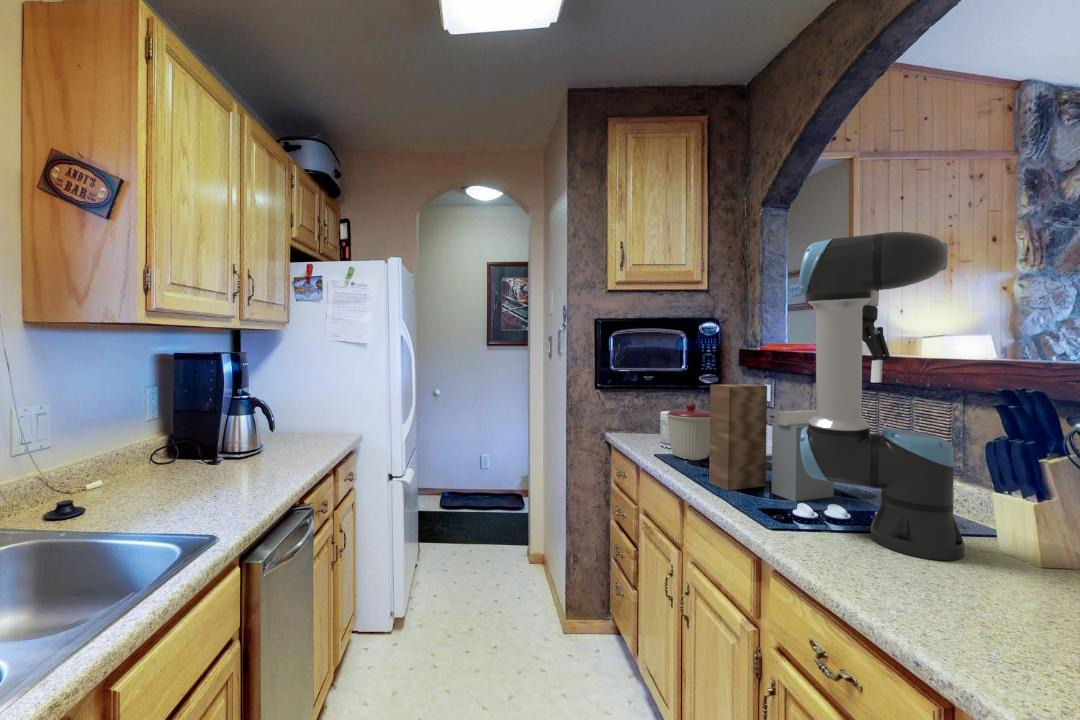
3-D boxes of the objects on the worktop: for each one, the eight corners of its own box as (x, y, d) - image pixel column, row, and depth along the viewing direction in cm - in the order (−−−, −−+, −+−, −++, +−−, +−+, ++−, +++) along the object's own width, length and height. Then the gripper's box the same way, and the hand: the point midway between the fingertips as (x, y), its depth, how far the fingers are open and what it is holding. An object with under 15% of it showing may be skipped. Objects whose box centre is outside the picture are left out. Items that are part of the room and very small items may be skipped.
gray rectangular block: (808, 488, 137) (809, 420, 137) (833, 496, 130) (834, 424, 129) (771, 493, 132) (772, 422, 132) (795, 501, 125) (796, 427, 125)
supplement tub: (668, 443, 204) (669, 410, 204) (688, 447, 197) (688, 412, 197) (655, 446, 198) (655, 411, 198) (674, 450, 191) (674, 414, 190)
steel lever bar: (842, 420, 138) (842, 408, 138) (853, 422, 135) (853, 409, 135) (776, 424, 130) (776, 411, 130) (787, 425, 127) (787, 413, 126)
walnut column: (745, 479, 147) (746, 384, 146) (765, 486, 139) (767, 385, 139) (709, 483, 142) (710, 384, 142) (727, 490, 135) (729, 386, 134)
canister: (686, 465, 165) (687, 405, 165) (656, 454, 182) (656, 400, 182) (726, 461, 172) (727, 404, 172) (693, 451, 189) (693, 399, 188)
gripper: (883, 317, 144) (878, 385, 141) (817, 301, 138) (811, 371, 135) (907, 313, 137) (903, 385, 134) (839, 295, 131) (834, 370, 128)
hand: (857, 378), depth 135 cm, fingers open, 13 cm apart
